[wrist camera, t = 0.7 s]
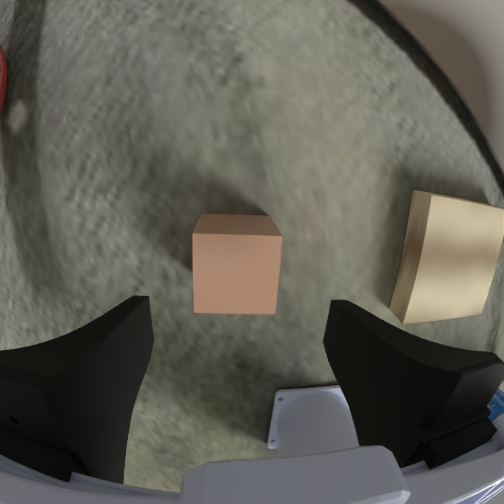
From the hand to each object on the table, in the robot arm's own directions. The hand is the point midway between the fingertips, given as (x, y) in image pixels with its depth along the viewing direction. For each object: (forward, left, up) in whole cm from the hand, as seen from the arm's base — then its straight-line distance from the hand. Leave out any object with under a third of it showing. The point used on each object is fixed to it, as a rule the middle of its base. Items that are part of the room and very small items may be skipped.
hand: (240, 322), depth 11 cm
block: (0, 0, -10) cm, 10 cm away
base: (0, -18, -9) cm, 20 cm away
